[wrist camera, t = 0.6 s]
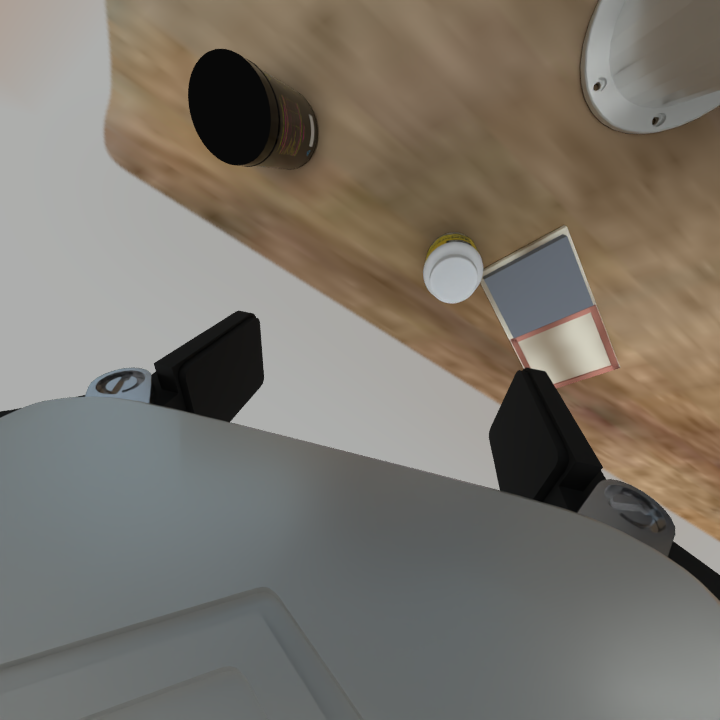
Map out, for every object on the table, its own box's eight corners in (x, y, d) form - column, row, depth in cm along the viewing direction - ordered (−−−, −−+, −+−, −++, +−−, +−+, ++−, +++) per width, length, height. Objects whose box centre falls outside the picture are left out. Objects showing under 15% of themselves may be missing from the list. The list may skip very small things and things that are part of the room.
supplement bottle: (473, 224, 31) (484, 239, 23) (479, 275, 34) (491, 304, 25) (421, 239, 33) (415, 258, 25) (431, 286, 35) (428, 317, 27)
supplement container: (252, 91, 30) (174, 54, 21) (316, 84, 28) (261, 41, 20) (265, 171, 33) (203, 167, 24) (322, 168, 32) (278, 163, 23)
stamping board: (563, 225, 29) (567, 226, 29) (616, 363, 35) (621, 368, 34) (475, 273, 33) (476, 275, 33) (535, 390, 39) (537, 395, 38)
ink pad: (562, 233, 29) (567, 235, 28) (588, 301, 32) (593, 305, 31) (482, 276, 33) (483, 279, 32) (511, 334, 35) (513, 338, 34)
